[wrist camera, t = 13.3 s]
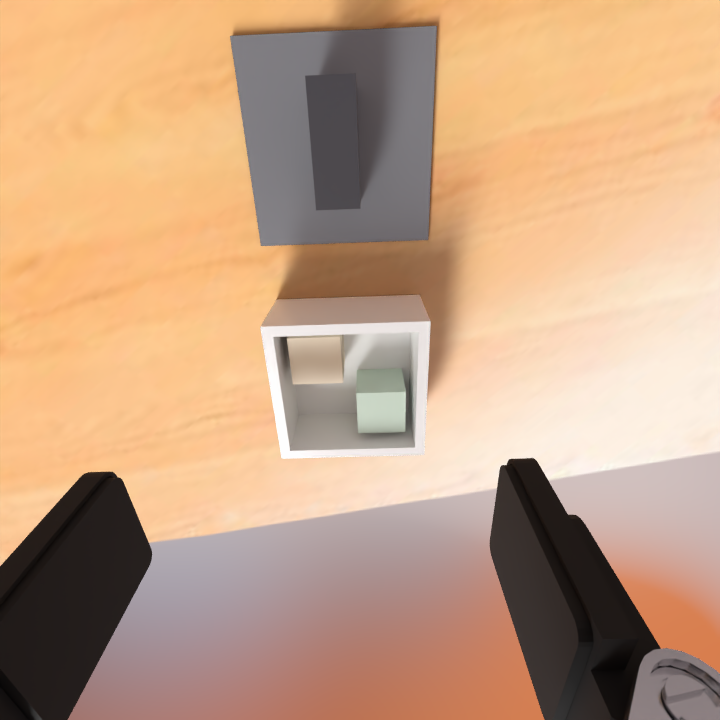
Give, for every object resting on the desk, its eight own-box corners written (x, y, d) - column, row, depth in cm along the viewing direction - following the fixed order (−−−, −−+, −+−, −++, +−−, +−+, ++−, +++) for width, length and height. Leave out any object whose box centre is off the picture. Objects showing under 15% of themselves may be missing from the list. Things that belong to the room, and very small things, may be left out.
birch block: (294, 319, 33) (286, 338, 30) (342, 317, 33) (340, 336, 30) (299, 361, 35) (292, 384, 32) (345, 359, 35) (343, 383, 32)
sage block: (356, 369, 36) (356, 393, 32) (401, 368, 35) (405, 391, 32) (358, 406, 37) (358, 433, 34) (401, 405, 37) (405, 432, 34)
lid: (234, 40, 26) (201, 9, 21) (434, 30, 26) (452, -3, 20) (263, 243, 32) (243, 260, 27) (426, 237, 32) (439, 254, 26)
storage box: (276, 299, 33) (260, 326, 28) (419, 294, 33) (430, 321, 28) (292, 417, 39) (281, 458, 34) (415, 413, 39) (424, 454, 33)
